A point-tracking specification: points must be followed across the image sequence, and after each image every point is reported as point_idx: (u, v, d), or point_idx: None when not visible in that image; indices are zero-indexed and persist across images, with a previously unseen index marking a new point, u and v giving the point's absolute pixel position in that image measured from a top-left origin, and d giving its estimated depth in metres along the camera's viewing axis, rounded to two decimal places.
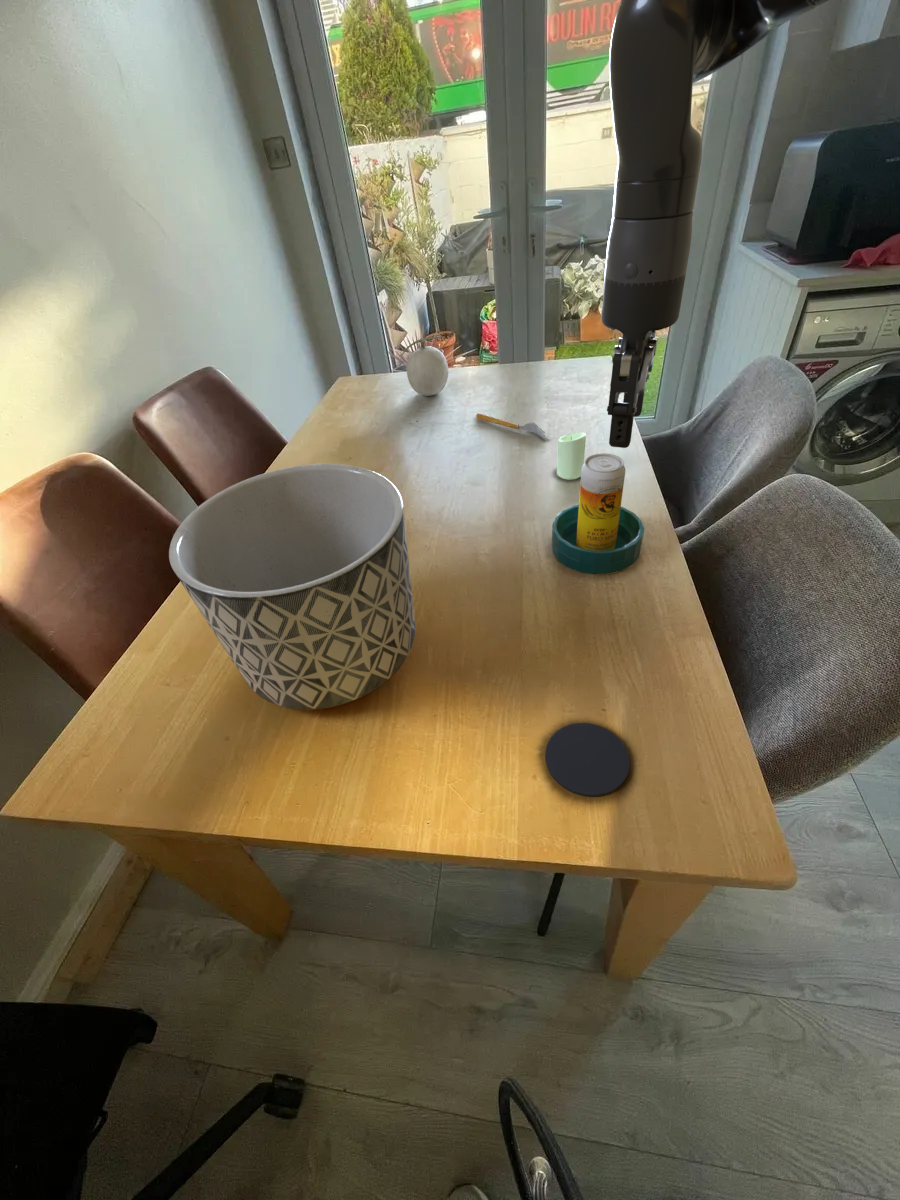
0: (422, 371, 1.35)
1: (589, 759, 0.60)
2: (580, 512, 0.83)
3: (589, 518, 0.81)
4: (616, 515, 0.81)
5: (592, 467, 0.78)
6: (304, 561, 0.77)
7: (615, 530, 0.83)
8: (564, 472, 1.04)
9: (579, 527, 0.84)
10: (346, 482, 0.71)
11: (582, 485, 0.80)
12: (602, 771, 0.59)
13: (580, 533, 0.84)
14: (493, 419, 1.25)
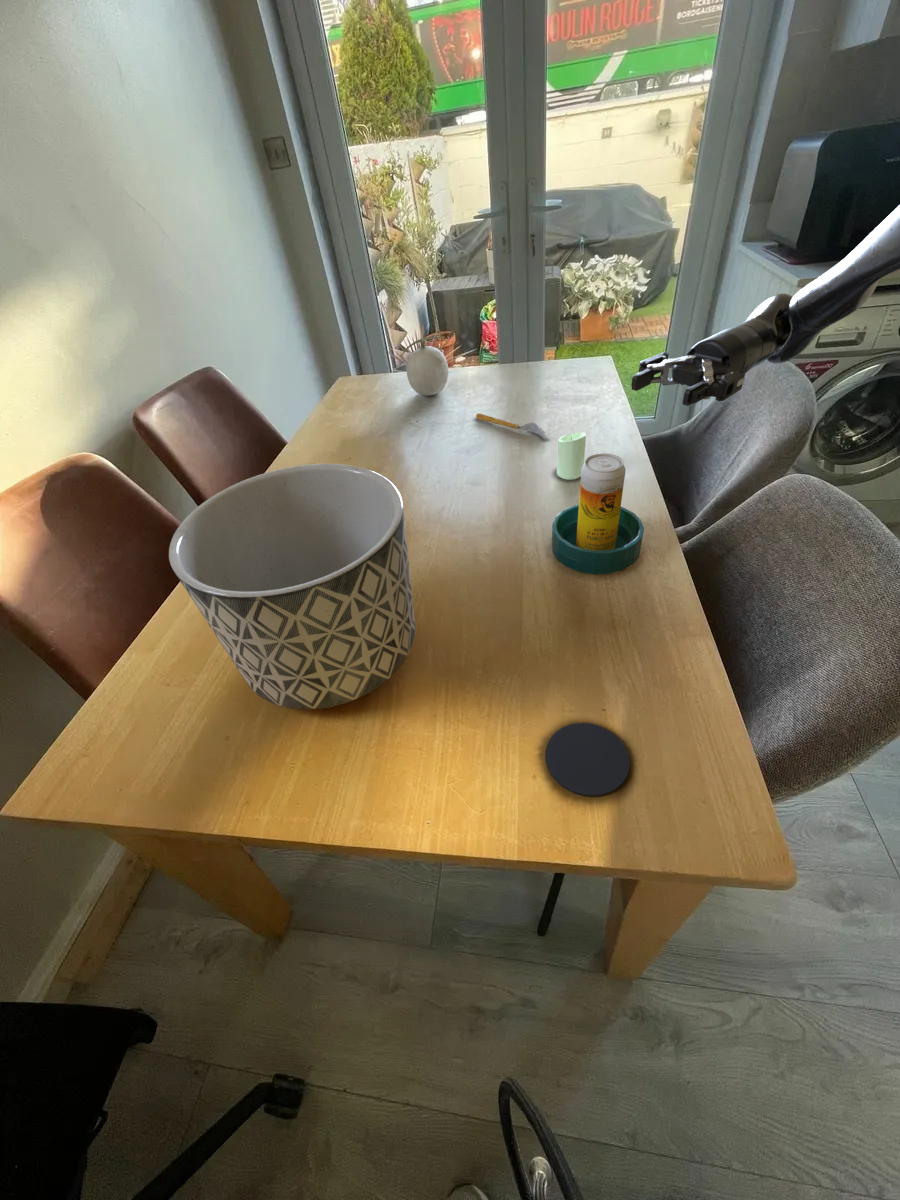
0: (422, 371, 1.35)
1: (589, 759, 0.60)
2: (580, 512, 0.83)
3: (589, 518, 0.81)
4: (616, 515, 0.81)
5: (592, 467, 0.78)
6: (304, 561, 0.77)
7: (615, 530, 0.83)
8: (564, 472, 1.04)
9: (579, 527, 0.84)
10: (346, 482, 0.71)
11: (582, 485, 0.80)
12: (602, 771, 0.59)
13: (580, 533, 0.84)
14: (493, 419, 1.25)
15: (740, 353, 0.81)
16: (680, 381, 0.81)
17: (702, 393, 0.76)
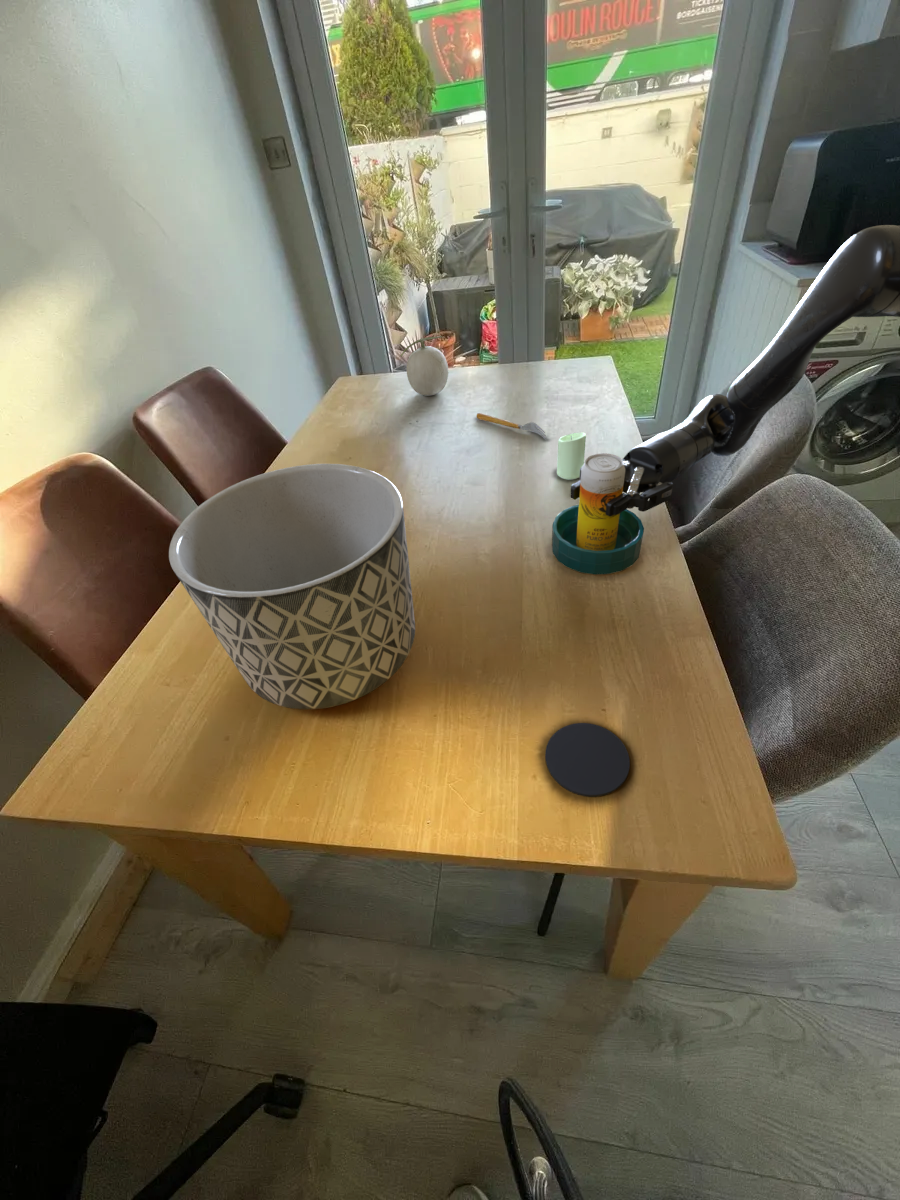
0: (422, 371, 1.35)
1: (589, 759, 0.60)
2: (580, 512, 0.83)
3: (589, 518, 0.81)
4: (616, 515, 0.81)
5: (592, 467, 0.78)
6: (304, 561, 0.77)
7: (615, 530, 0.83)
8: (564, 472, 1.04)
9: (579, 527, 0.84)
10: (346, 482, 0.71)
11: (582, 485, 0.80)
12: (602, 771, 0.59)
13: (580, 533, 0.84)
14: (493, 419, 1.25)
15: (673, 460, 0.83)
16: None
17: (624, 505, 0.79)
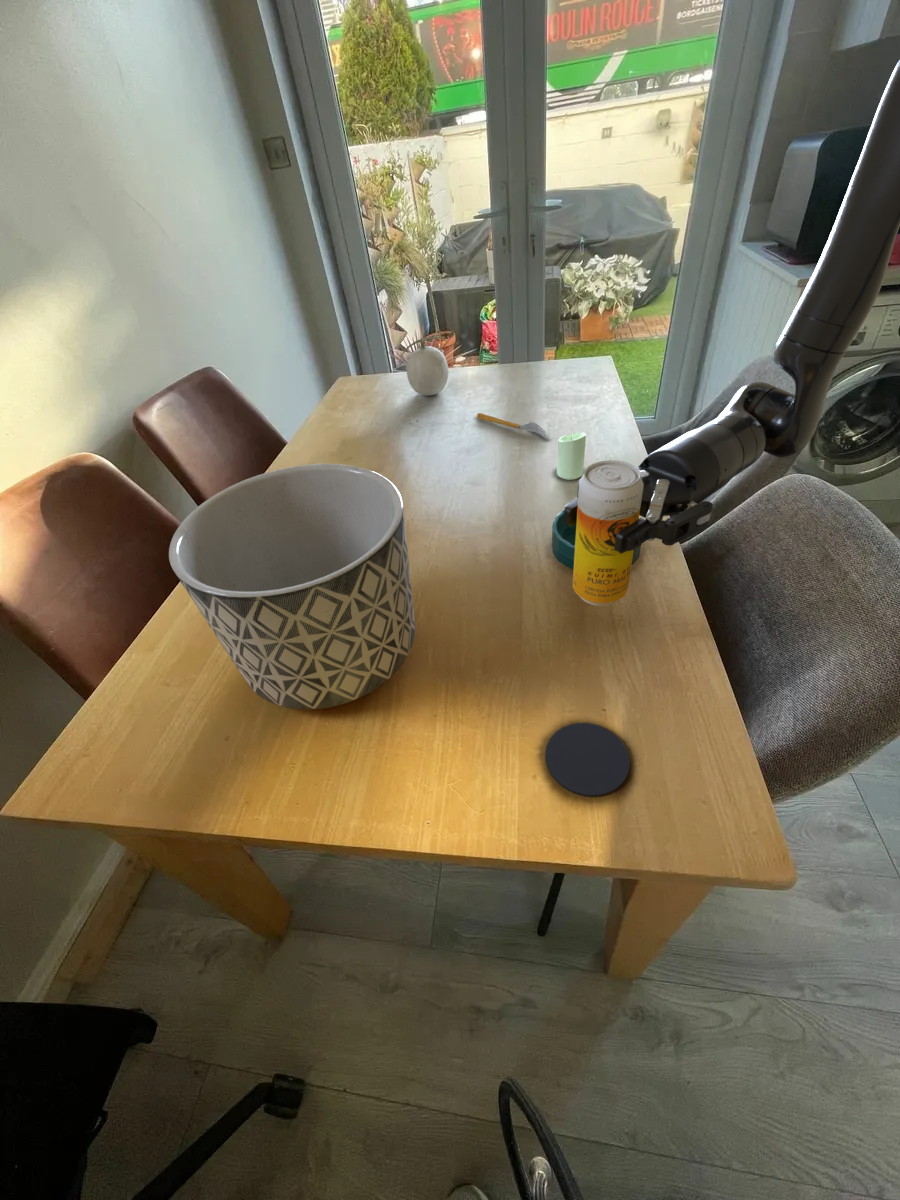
0: (422, 371, 1.35)
1: (589, 759, 0.60)
2: (578, 544, 0.58)
3: (591, 554, 0.56)
4: None
5: (594, 481, 0.53)
6: (304, 561, 0.77)
7: (628, 570, 0.58)
8: (564, 472, 1.04)
9: (577, 565, 0.59)
10: (346, 482, 0.71)
11: (580, 507, 0.55)
12: (602, 771, 0.59)
13: (578, 573, 0.60)
14: (494, 418, 1.25)
15: (711, 469, 0.58)
16: None
17: (641, 537, 0.54)
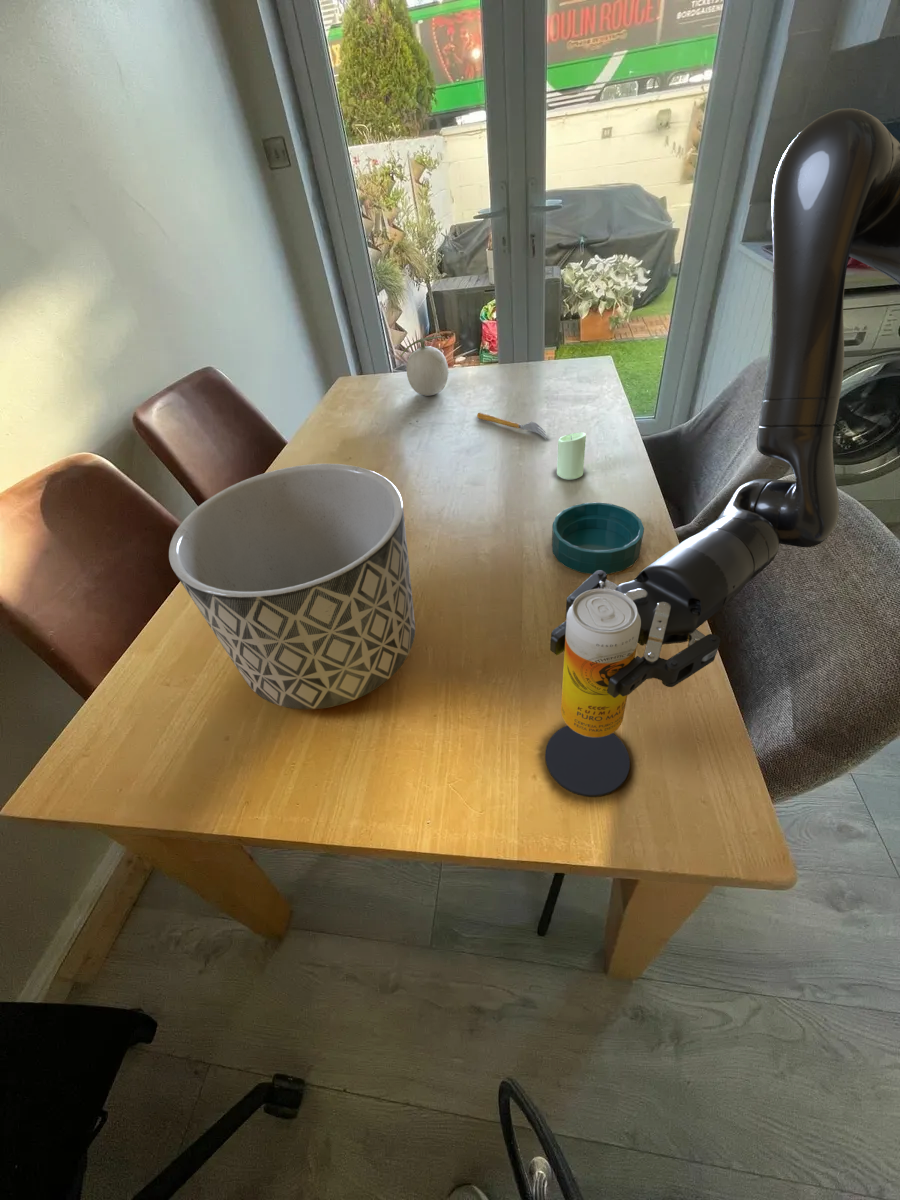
0: (422, 371, 1.35)
1: (589, 759, 0.60)
2: (566, 677, 0.51)
3: (581, 691, 0.49)
4: None
5: (584, 619, 0.45)
6: (304, 561, 0.77)
7: (623, 704, 0.51)
8: (564, 472, 1.04)
9: (565, 696, 0.52)
10: (346, 482, 0.71)
11: (568, 643, 0.48)
12: (602, 771, 0.59)
13: (567, 704, 0.52)
14: (494, 418, 1.25)
15: (718, 589, 0.51)
16: None
17: (638, 680, 0.47)
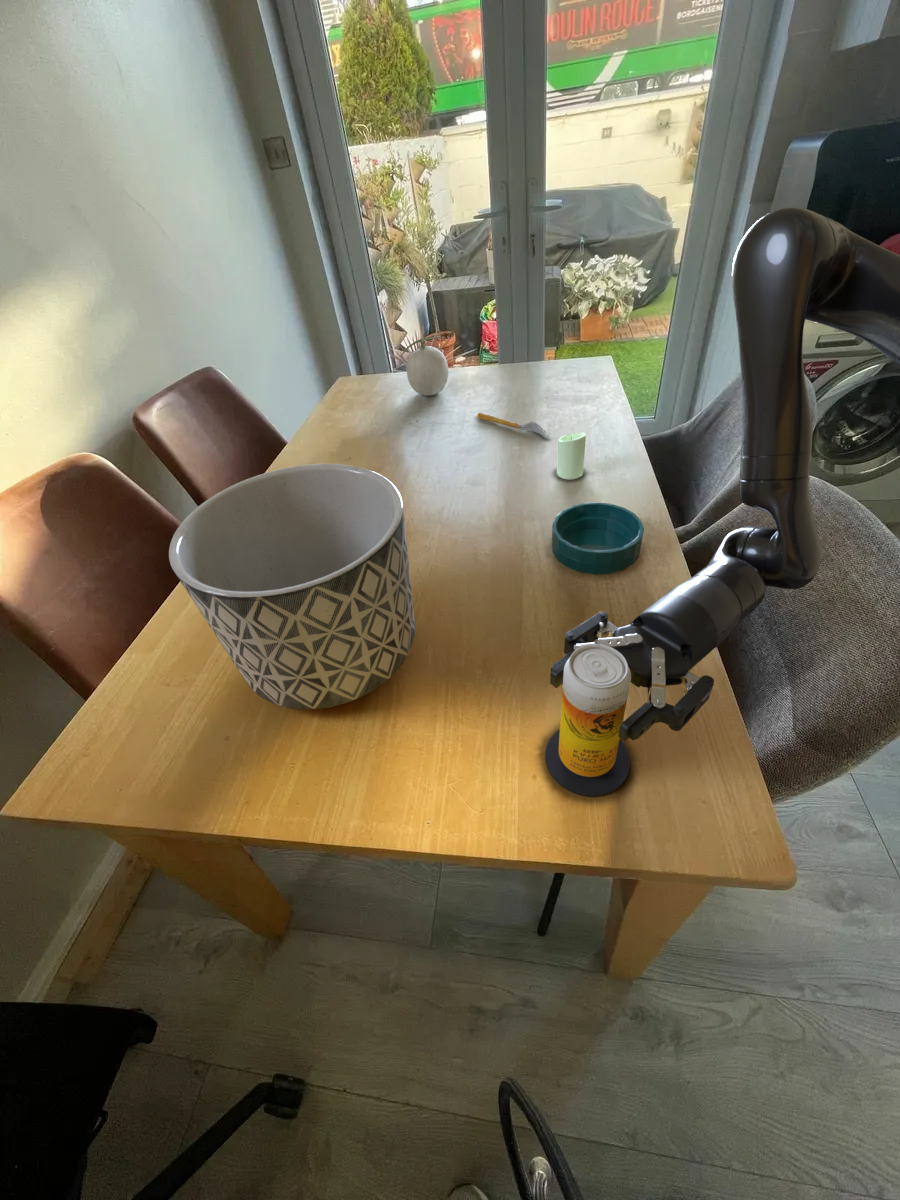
0: (422, 371, 1.35)
1: None
2: (563, 722, 0.55)
3: (576, 737, 0.54)
4: (617, 732, 0.54)
5: (580, 674, 0.50)
6: (304, 561, 0.77)
7: (615, 747, 0.56)
8: (564, 472, 1.04)
9: (562, 739, 0.57)
10: (346, 482, 0.71)
11: (565, 693, 0.52)
12: None
13: (564, 746, 0.57)
14: (494, 418, 1.25)
15: (708, 635, 0.55)
16: None
17: (647, 725, 0.50)
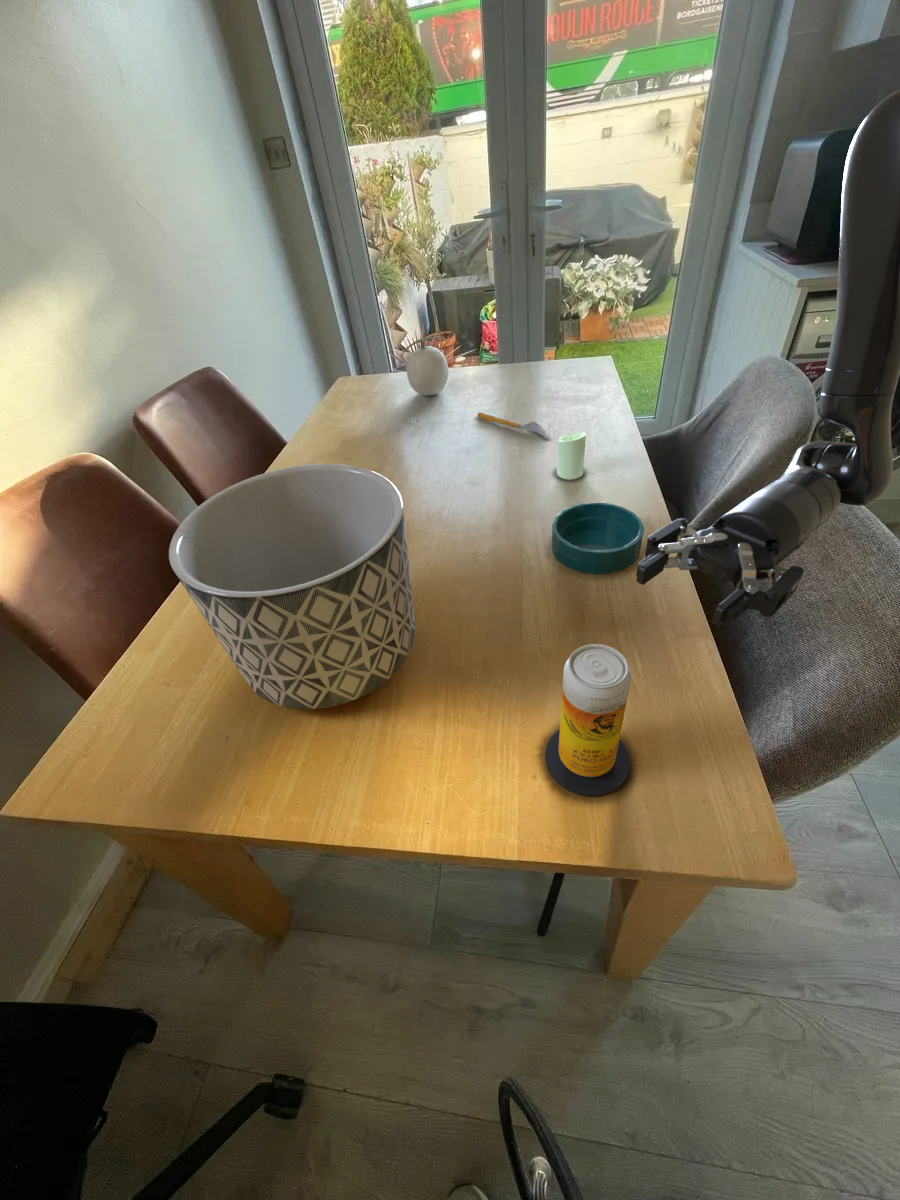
0: (422, 371, 1.35)
1: None
2: (563, 722, 0.55)
3: (576, 737, 0.54)
4: (617, 732, 0.54)
5: (580, 674, 0.50)
6: (304, 561, 0.77)
7: (615, 747, 0.56)
8: (564, 472, 1.04)
9: (562, 739, 0.57)
10: (346, 482, 0.71)
11: (565, 693, 0.52)
12: None
13: (564, 746, 0.57)
14: (494, 418, 1.25)
15: (792, 532, 0.57)
16: (706, 571, 0.57)
17: (741, 609, 0.51)
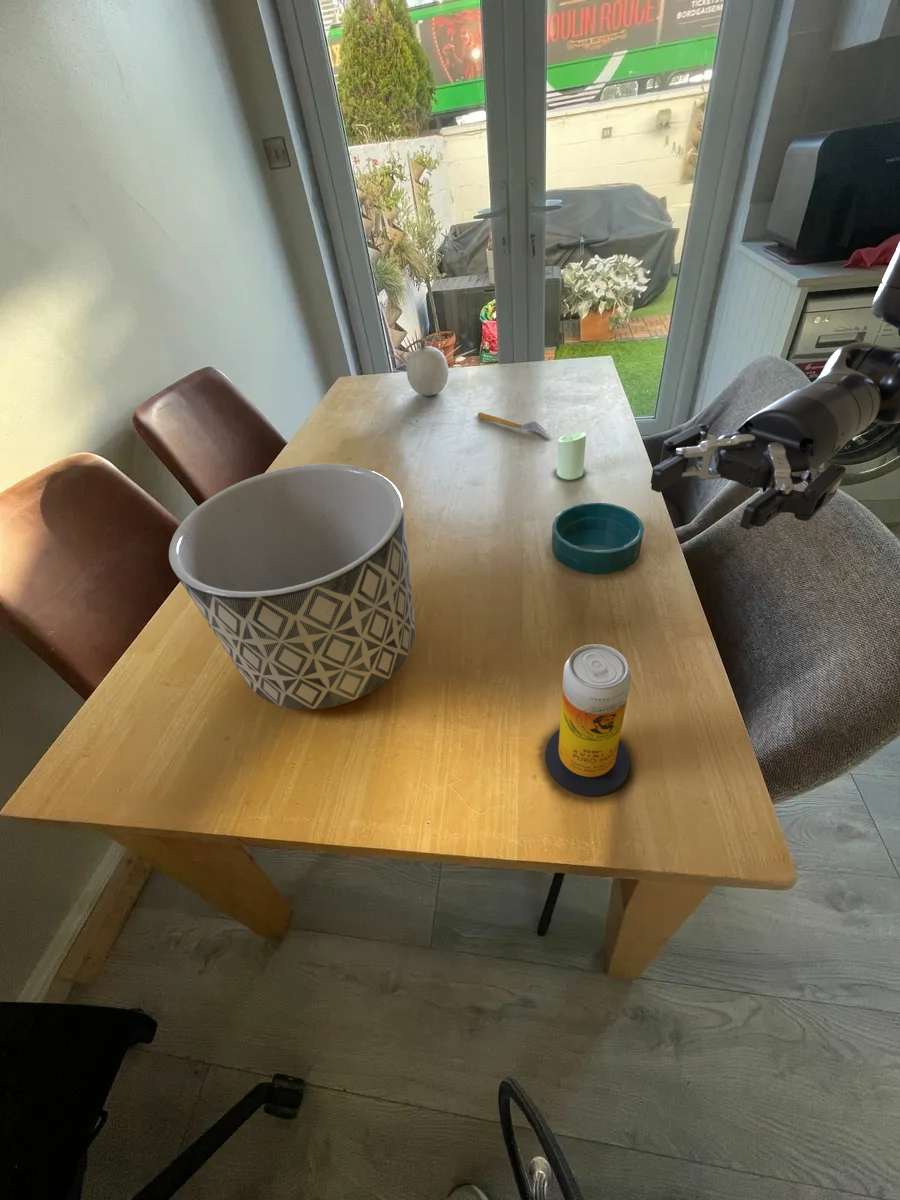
0: (422, 371, 1.35)
1: None
2: (563, 722, 0.55)
3: (576, 737, 0.54)
4: (617, 732, 0.54)
5: (580, 674, 0.50)
6: (304, 561, 0.77)
7: (615, 747, 0.56)
8: (564, 472, 1.04)
9: (562, 739, 0.57)
10: (346, 482, 0.71)
11: (565, 693, 0.52)
12: None
13: (564, 746, 0.57)
14: (495, 418, 1.25)
15: (829, 432, 0.49)
16: (730, 477, 0.50)
17: (774, 510, 0.44)
